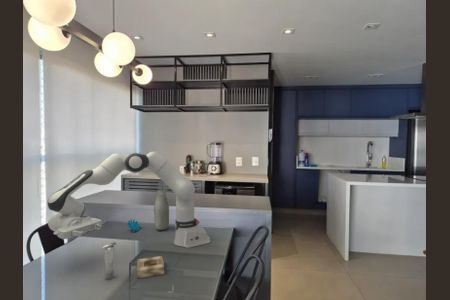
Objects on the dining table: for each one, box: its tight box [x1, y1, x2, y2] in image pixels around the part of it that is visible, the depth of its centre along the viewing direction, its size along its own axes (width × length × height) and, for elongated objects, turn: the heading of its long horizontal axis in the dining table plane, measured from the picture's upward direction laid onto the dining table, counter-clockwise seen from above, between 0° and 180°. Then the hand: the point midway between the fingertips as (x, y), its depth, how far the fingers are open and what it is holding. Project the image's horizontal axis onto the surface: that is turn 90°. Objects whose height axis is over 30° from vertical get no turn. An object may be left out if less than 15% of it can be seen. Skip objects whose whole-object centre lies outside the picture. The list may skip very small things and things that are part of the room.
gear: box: [126, 218, 141, 233], centre depth 181 cm, size 11×6×10 cm
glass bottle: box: [153, 189, 170, 231], centre depth 182 cm, size 10×10×28 cm
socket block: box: [136, 255, 165, 279], centre depth 125 cm, size 12×12×4 cm
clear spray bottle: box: [101, 241, 117, 281], centre depth 118 cm, size 7×4×15 cm, turn 153°
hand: (91, 230), depth 123 cm, fingers open, 8 cm apart
